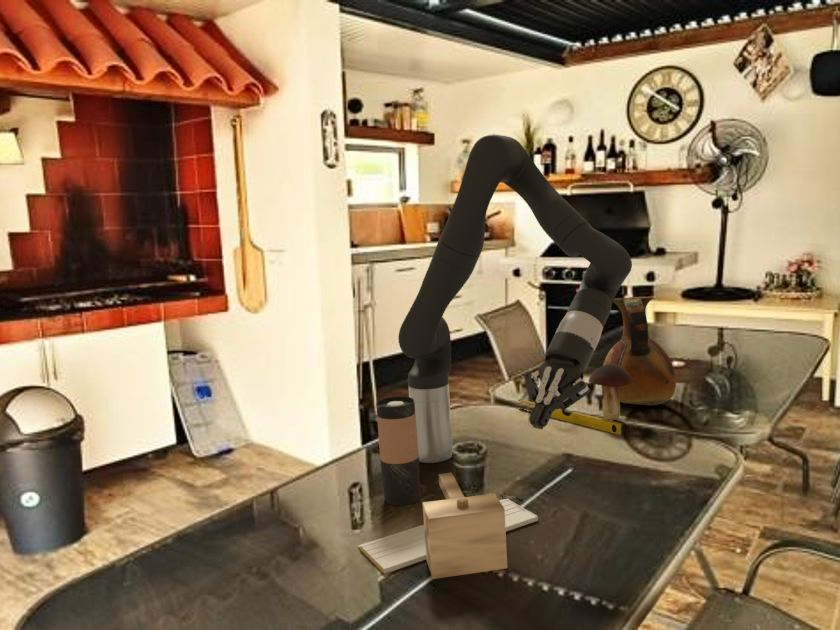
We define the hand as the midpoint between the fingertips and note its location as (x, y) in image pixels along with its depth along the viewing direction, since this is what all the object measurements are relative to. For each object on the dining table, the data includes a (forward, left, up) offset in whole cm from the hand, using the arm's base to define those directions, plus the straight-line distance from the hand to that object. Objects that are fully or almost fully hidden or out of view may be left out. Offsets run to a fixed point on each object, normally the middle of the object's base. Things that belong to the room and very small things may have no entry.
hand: (535, 426), depth 113 cm
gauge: (-8, -12, -19) cm, 24 cm away
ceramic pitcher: (-23, +78, -20) cm, 84 cm away
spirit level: (-30, +54, -20) cm, 65 cm away
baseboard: (-13, -9, -20) cm, 26 cm away
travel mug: (-30, -5, -20) cm, 36 cm away
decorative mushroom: (-21, +60, -20) cm, 67 cm away
